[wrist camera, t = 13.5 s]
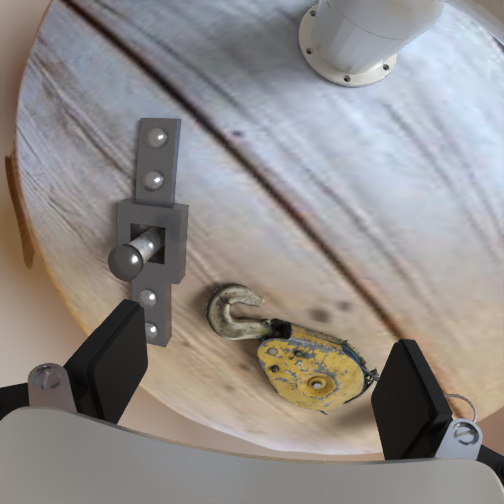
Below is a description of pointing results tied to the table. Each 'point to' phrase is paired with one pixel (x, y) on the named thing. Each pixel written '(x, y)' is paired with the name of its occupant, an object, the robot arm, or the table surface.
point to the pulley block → (293, 354)
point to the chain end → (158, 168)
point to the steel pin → (135, 254)
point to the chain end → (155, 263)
